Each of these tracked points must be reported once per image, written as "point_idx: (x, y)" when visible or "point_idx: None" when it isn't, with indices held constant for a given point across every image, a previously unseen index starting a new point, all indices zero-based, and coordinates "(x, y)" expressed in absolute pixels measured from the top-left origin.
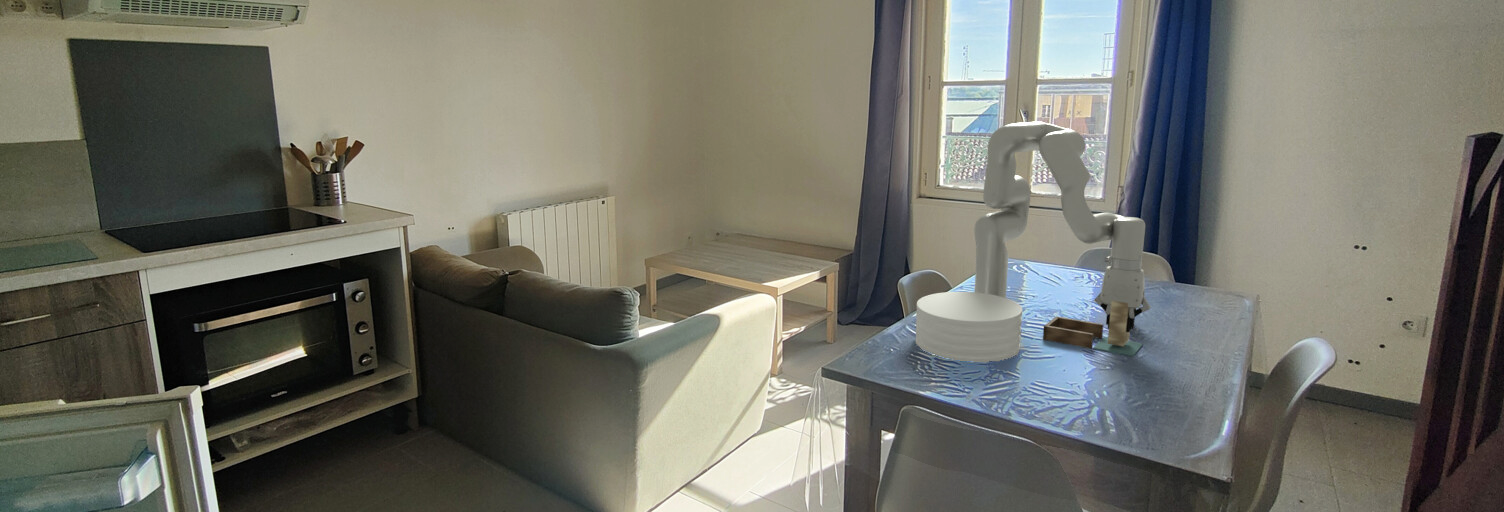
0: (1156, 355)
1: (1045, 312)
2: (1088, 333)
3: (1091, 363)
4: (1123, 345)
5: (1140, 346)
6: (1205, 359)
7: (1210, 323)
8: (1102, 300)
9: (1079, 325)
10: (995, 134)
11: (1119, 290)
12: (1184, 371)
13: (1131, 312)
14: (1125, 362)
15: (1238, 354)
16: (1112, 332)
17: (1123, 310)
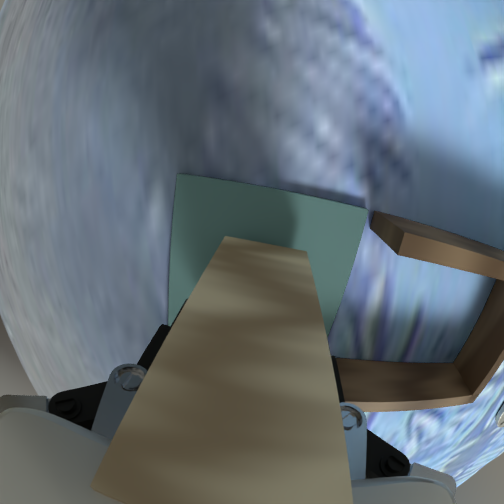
0: (105, 236)
1: (428, 451)
2: (423, 246)
3: (350, 9)
4: (224, 238)
5: (168, 307)
6: (16, 260)
7: None
8: (446, 495)
9: (411, 387)
10: None
11: None
12: (32, 111)
13: (122, 407)
14: (207, 73)
15: (3, 321)
16: (289, 278)
17: (175, 412)
